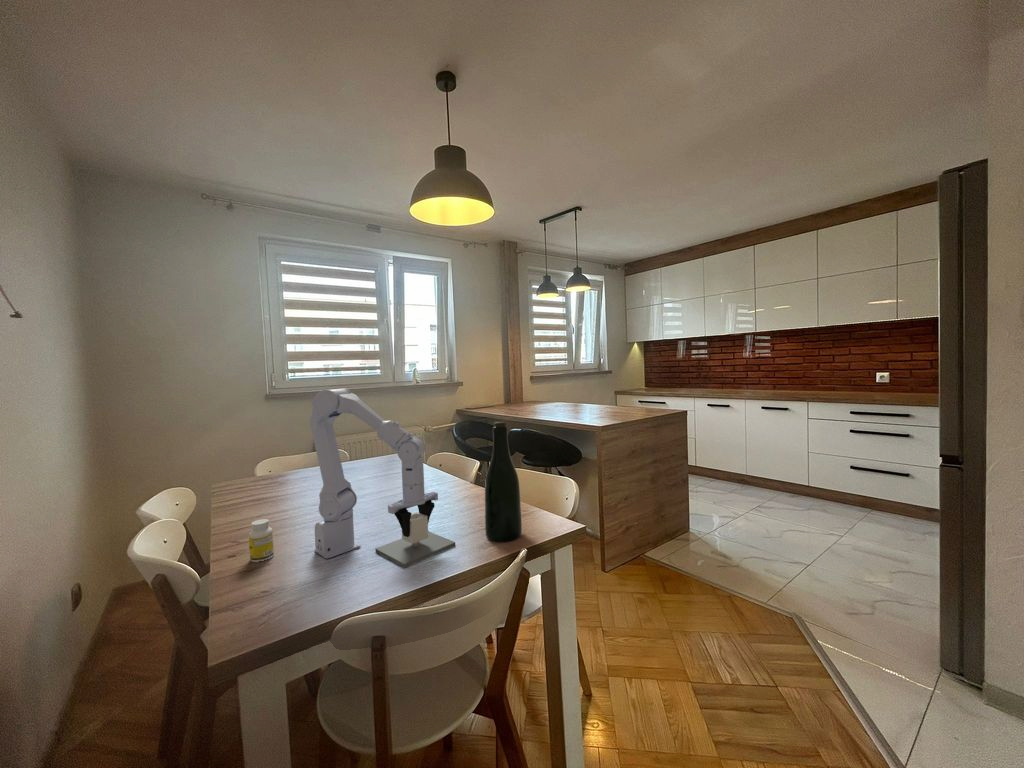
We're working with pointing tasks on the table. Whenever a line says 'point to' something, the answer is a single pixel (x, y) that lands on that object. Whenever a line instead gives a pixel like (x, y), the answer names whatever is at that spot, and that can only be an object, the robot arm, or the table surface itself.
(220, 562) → the table surface
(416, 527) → the sleeve
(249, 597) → the table surface
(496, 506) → the green wine bottle
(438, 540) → the post board
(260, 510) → the table surface
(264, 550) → the supplement bottle
